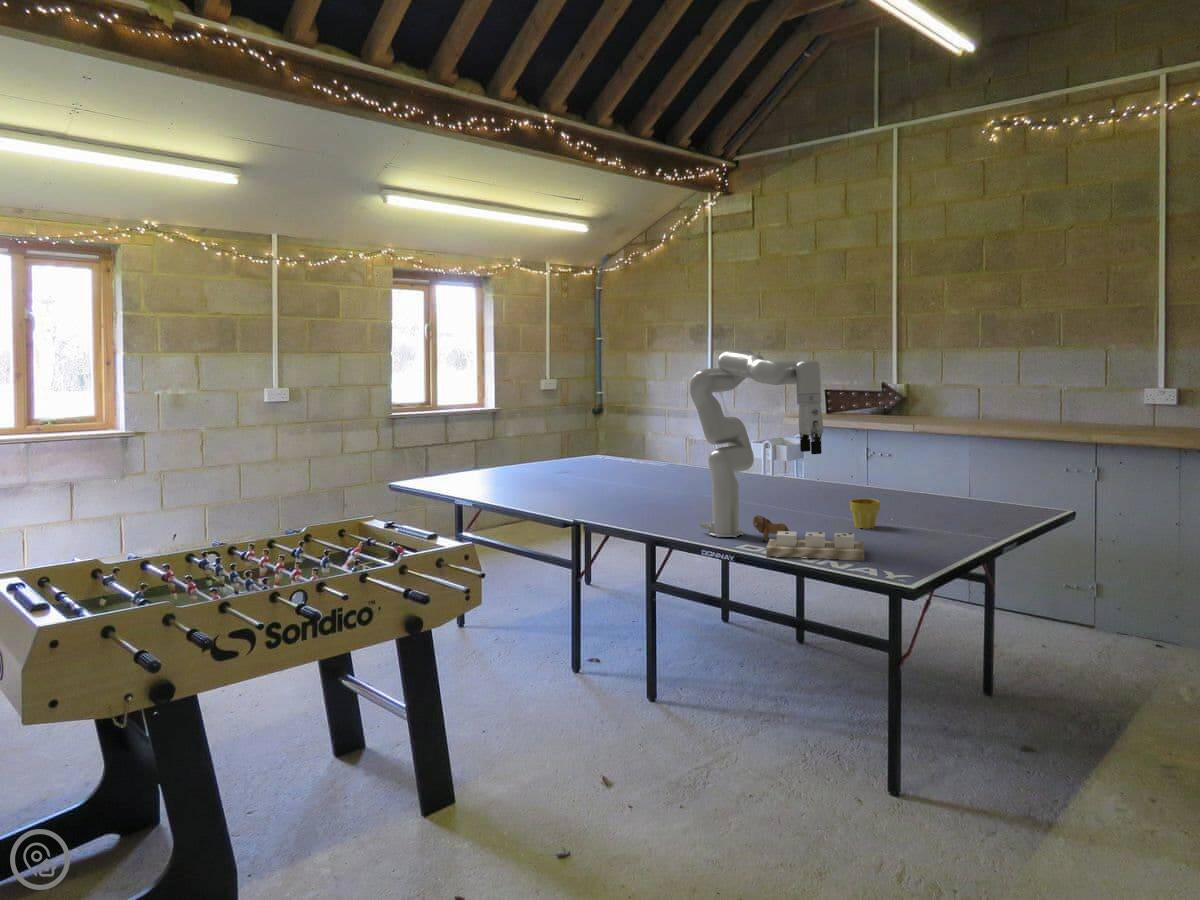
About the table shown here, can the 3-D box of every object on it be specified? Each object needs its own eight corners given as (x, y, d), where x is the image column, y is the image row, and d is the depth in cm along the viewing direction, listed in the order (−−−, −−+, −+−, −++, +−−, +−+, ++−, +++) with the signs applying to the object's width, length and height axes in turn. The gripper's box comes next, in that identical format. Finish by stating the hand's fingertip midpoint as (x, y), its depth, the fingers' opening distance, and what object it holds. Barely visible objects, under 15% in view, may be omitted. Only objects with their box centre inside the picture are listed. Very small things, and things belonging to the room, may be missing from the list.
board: (766, 557, 277) (766, 547, 276) (769, 547, 289) (769, 538, 289) (864, 560, 269) (864, 551, 268) (863, 550, 281) (863, 541, 281)
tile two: (805, 548, 276) (805, 535, 276) (806, 543, 282) (806, 531, 282) (824, 548, 275) (824, 535, 274) (825, 544, 281) (825, 531, 280)
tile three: (834, 549, 274) (834, 536, 274) (834, 544, 280) (834, 532, 279) (854, 549, 272) (854, 536, 272) (854, 545, 278) (854, 532, 278)
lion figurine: (751, 542, 298) (750, 516, 297) (755, 538, 303) (754, 513, 302) (793, 545, 292) (793, 519, 291) (797, 541, 296) (797, 516, 295)
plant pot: (857, 531, 310) (857, 504, 309) (845, 525, 320) (845, 499, 319) (884, 529, 311) (884, 502, 310) (871, 523, 321) (872, 497, 320)
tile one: (776, 547, 279) (776, 534, 278) (778, 543, 285) (778, 530, 284) (795, 547, 277) (795, 535, 277) (796, 543, 283) (796, 531, 283)
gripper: (830, 399, 267) (832, 454, 269) (810, 398, 284) (812, 449, 286) (807, 400, 267) (809, 455, 268) (788, 399, 284) (790, 451, 285)
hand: (810, 452), depth 277 cm, fingers open, 9 cm apart
